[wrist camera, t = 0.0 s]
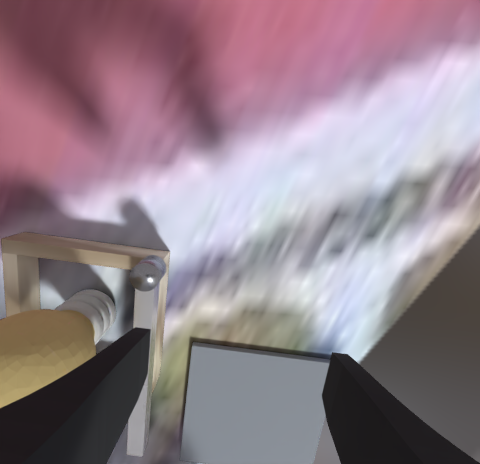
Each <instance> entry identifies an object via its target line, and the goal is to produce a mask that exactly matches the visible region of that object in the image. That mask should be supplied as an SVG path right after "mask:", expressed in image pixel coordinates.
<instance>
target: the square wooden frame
mask: <svg viewBox="0 0 480 464" xmlns="http://www.w3.org/2000/svg"><path fill="white" fill-rule="evenodd" d="M1 245H2V260H3V274H4V289H5V304H6V317H8V316H11V315H14V314H17V313H21V312H25V311H30V310H39V309H40V285H39V258H46V259H53V260H61V261H69V262H76V263H84V264H91V265H99V266H106V267H114V268H121V269H129V270H132V268H133V267H135V266H136V265H137V264H138V263H139V262H140V261H141V260H142V259H143V258H145V257H146V256H149V255H156V256H159V257H160V258H162V259H163V260H164V262H165V264H166V273H165V275H164V276H163V278H162V279H161V280H160V287H159V301H158V314H157V328H156V341H155V355H154V368H153V382H152V393H153V390H154V388H155V385H156V383H157V381H158V378H159V376H160V370H161V357H162V345H163V333H164V320H165V308H166V296H167V283H168V271H169V259H170V252H169V251H162V250H155V249H147V248H140V247H132V246H125V245H117V244H110V243H102V242H95V241H87V240H80V239H73V238H65V237H58V236H50V235H43V234H35V233H28V232H23V233H19V234H16V235H12V236H9V237H5V238H2V239H1Z"/></svg>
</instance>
